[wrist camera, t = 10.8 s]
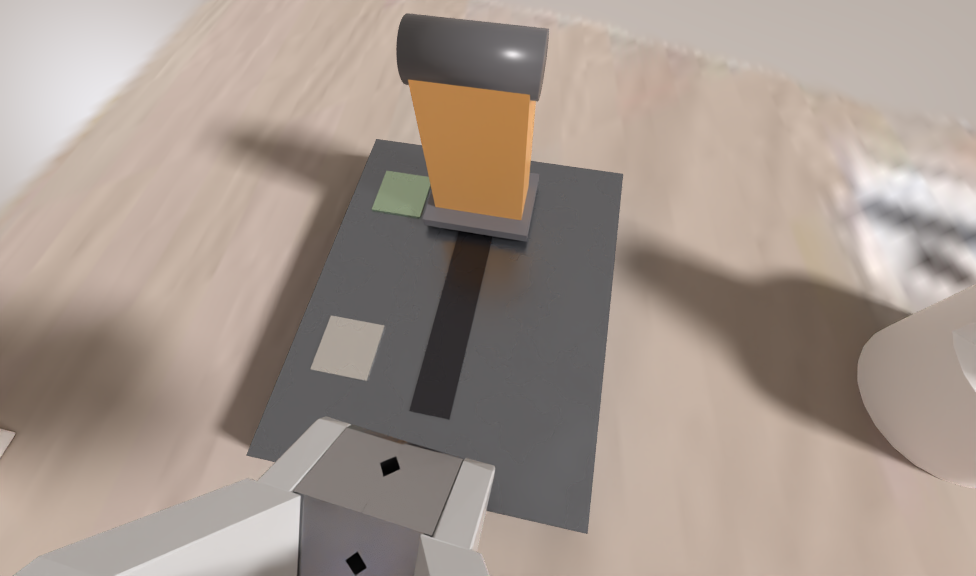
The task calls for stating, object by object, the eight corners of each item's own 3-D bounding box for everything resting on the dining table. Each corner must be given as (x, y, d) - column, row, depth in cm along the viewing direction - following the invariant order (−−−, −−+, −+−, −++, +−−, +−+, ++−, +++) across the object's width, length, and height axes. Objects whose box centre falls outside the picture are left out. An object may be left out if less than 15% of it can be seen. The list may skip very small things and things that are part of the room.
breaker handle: (526, 241, 26) (542, 77, 16) (424, 225, 26) (379, 57, 17) (538, 180, 28) (559, -1, 18) (442, 166, 28) (412, -16, 19)
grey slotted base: (577, 531, 22) (587, 533, 20) (274, 461, 24) (245, 455, 21) (612, 203, 31) (623, 172, 28) (386, 169, 33) (376, 137, 30)
